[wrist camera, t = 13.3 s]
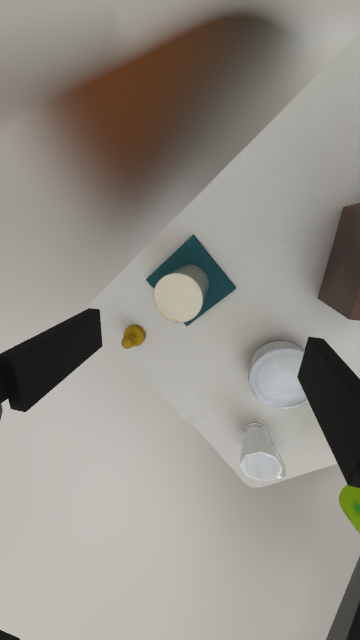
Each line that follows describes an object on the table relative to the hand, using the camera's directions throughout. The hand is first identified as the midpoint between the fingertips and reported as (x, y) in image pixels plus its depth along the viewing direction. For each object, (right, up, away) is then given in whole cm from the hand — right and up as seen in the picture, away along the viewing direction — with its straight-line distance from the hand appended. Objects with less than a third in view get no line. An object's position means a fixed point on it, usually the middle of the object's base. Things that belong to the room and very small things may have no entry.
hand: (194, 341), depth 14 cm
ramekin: (+17, -6, +27) cm, 32 cm away
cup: (+16, -22, +33) cm, 43 cm away
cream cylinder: (+1, +7, +24) cm, 25 cm away
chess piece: (-10, -1, +30) cm, 32 cm away
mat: (+1, +8, +25) cm, 26 cm away
